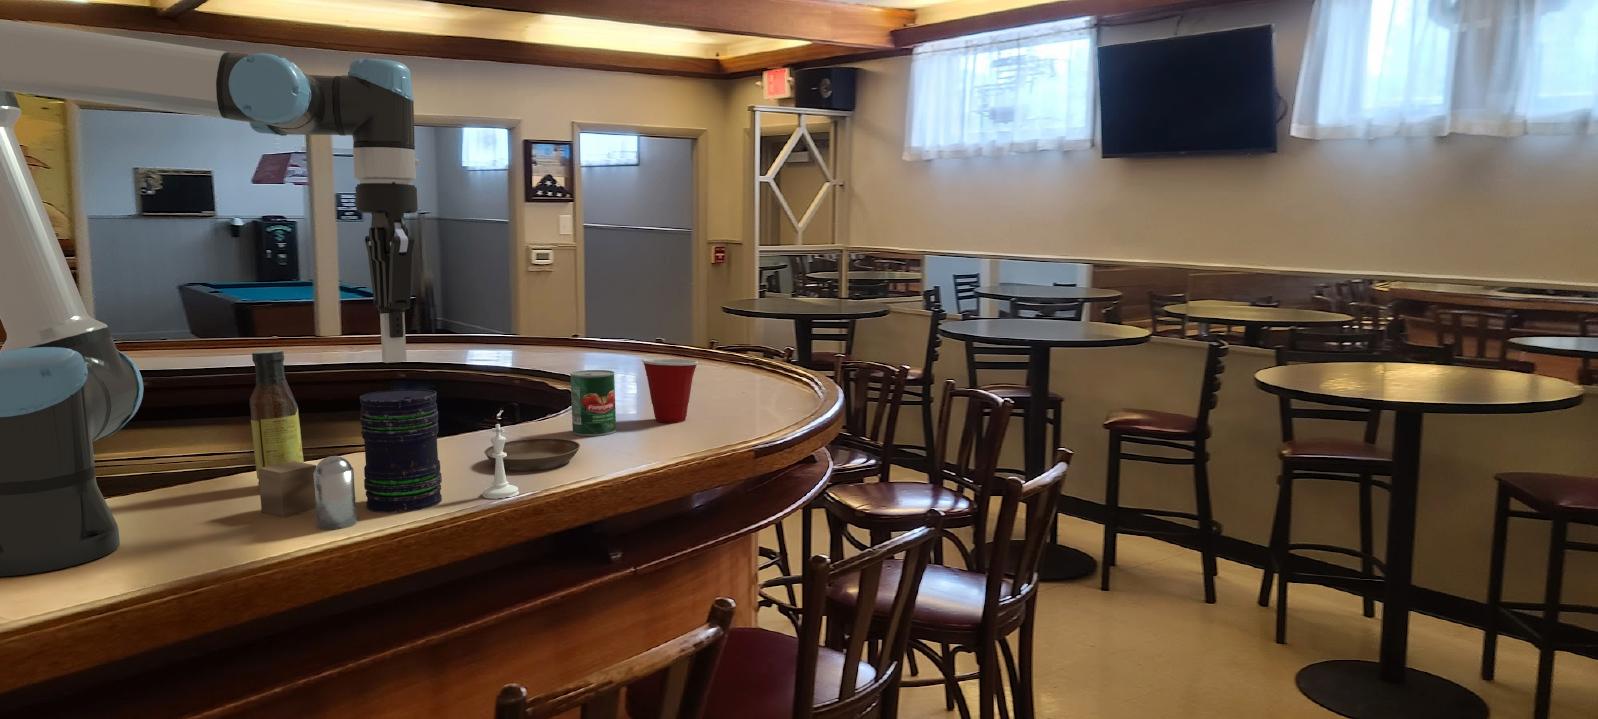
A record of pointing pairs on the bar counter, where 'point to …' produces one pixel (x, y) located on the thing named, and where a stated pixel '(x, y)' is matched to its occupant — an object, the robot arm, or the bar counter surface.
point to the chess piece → (499, 470)
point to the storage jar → (401, 450)
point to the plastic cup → (670, 387)
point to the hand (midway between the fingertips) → (394, 361)
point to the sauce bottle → (273, 413)
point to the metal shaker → (334, 494)
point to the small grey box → (287, 489)
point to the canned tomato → (593, 402)
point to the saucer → (536, 453)
